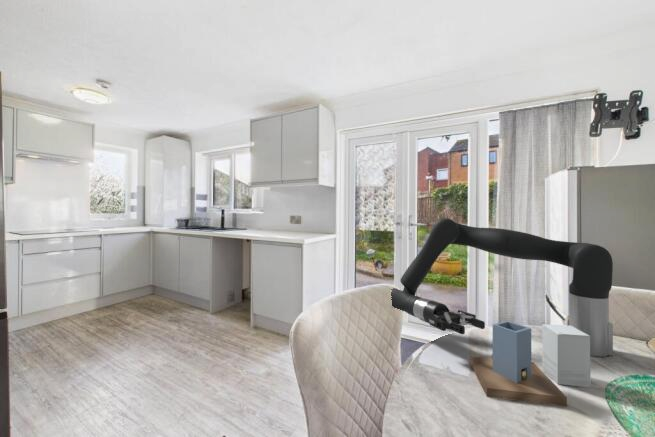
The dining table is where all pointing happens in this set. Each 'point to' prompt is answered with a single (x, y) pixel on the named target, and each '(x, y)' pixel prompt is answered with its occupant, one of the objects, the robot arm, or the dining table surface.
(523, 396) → the base plate
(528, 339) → the sleeve
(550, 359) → the supplement box
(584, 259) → the robot arm
